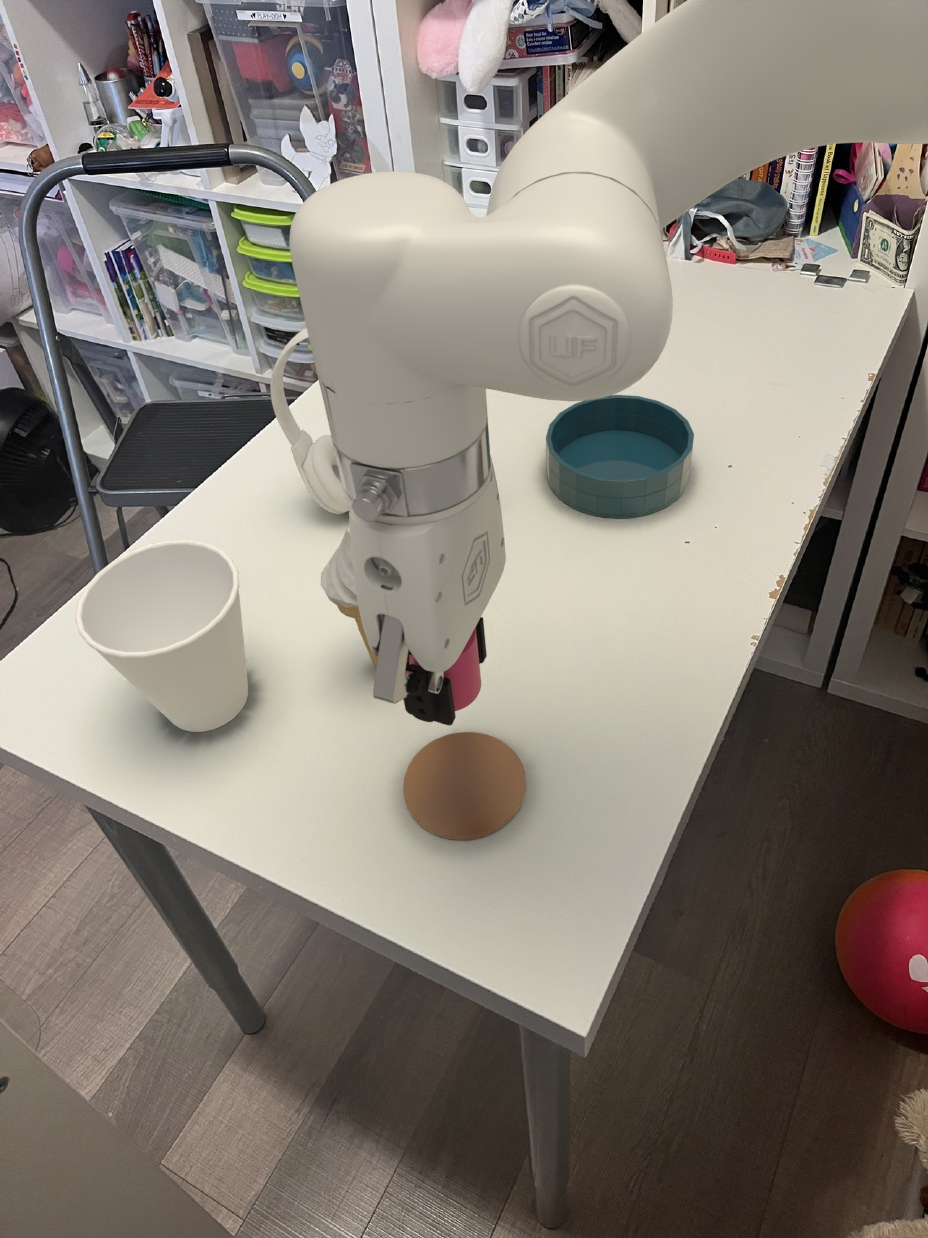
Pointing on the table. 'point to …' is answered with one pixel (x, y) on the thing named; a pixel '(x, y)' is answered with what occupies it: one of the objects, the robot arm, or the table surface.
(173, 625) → the cup
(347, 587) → the ice cream cone
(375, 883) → the table surface
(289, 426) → the headphones
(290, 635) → the table surface
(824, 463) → the table surface
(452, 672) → the pink cylinder block
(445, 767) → the coaster
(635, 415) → the bowl
